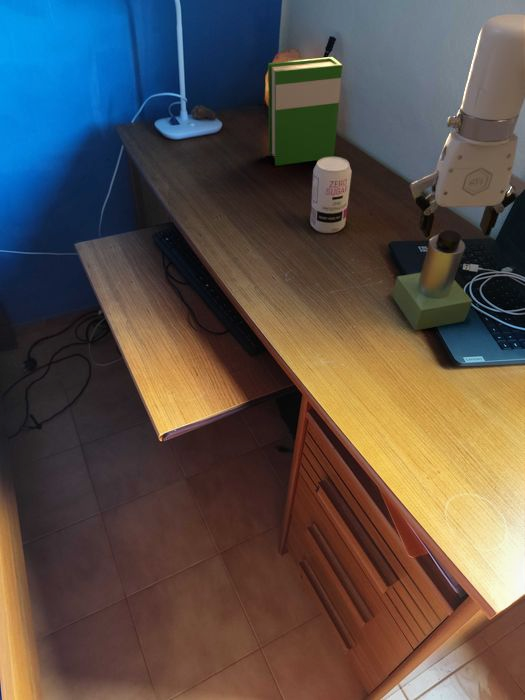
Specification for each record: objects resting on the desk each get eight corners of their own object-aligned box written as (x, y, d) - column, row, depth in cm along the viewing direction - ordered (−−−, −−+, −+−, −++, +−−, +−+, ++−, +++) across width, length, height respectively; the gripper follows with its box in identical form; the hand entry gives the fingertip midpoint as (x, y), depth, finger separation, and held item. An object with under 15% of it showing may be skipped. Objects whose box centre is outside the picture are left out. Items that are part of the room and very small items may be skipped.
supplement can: (325, 212, 115) (330, 152, 104) (351, 225, 110) (360, 163, 100) (303, 225, 111) (306, 163, 100) (329, 238, 107) (335, 176, 96)
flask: (445, 278, 88) (462, 226, 79) (453, 298, 84) (472, 245, 75) (414, 278, 88) (428, 226, 80) (420, 298, 84) (436, 245, 76)
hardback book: (275, 165, 133) (275, 71, 116) (269, 155, 138) (268, 63, 121) (333, 157, 136) (342, 64, 119) (325, 147, 141) (332, 56, 124)
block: (438, 288, 93) (444, 268, 90) (464, 321, 87) (472, 300, 83) (392, 296, 92) (396, 276, 88) (415, 330, 85) (421, 310, 82)
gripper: (428, 137, 63) (405, 245, 75) (560, 133, 62) (515, 243, 74) (417, 116, 68) (397, 221, 80) (538, 112, 67) (500, 218, 79)
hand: (454, 231), depth 77 cm, fingers open, 9 cm apart
